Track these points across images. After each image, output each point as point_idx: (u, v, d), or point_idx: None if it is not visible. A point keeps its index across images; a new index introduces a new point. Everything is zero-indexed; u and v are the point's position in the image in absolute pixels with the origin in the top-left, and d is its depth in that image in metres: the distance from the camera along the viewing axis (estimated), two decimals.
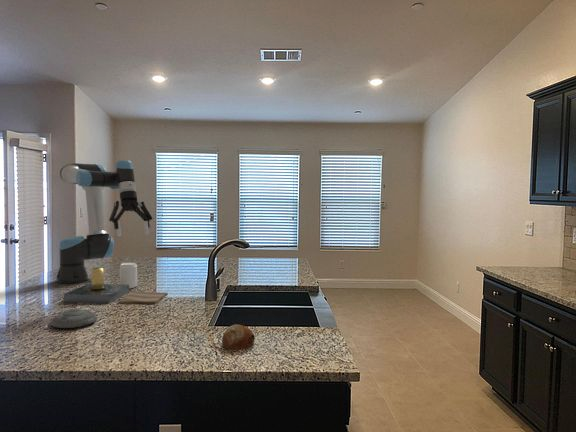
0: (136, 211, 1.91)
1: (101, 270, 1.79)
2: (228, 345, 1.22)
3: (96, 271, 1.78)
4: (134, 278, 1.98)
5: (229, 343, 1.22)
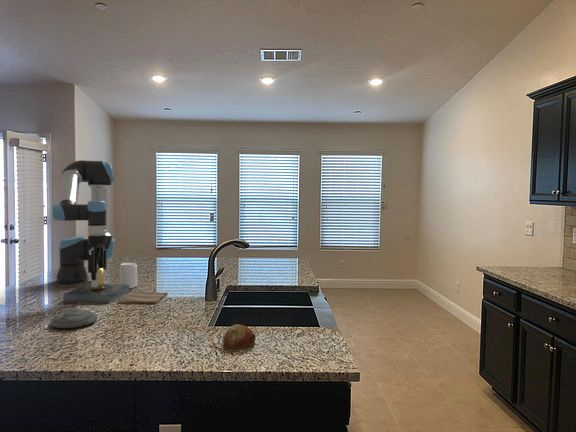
0: None
1: (101, 270, 1.79)
2: (229, 345, 1.22)
3: None
4: (134, 278, 1.98)
5: (230, 343, 1.22)
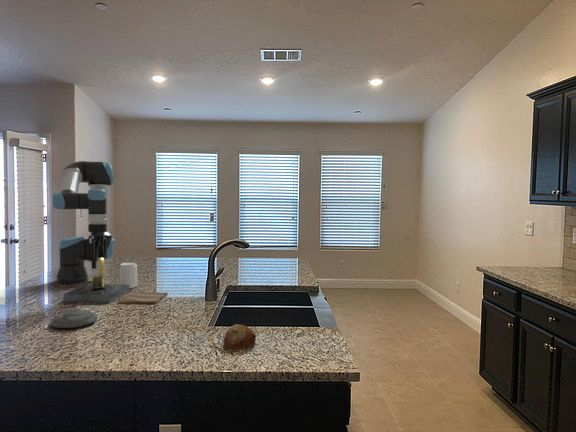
0: None
1: (101, 259, 1.79)
2: (229, 345, 1.22)
3: None
4: (134, 278, 1.98)
5: (231, 343, 1.22)
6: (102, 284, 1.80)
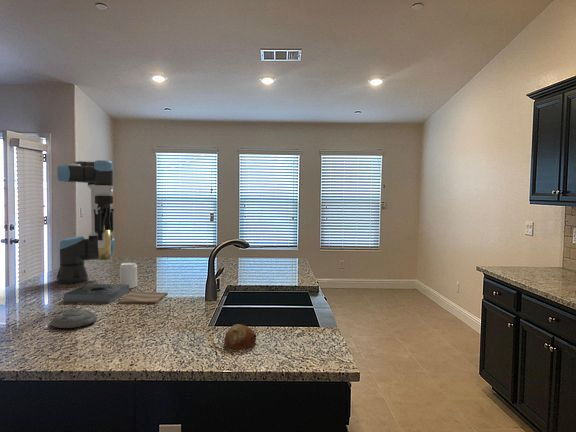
0: None
1: (108, 232, 1.78)
2: (230, 345, 1.22)
3: (103, 232, 1.76)
4: (134, 278, 1.98)
5: (231, 343, 1.22)
6: (108, 257, 1.78)
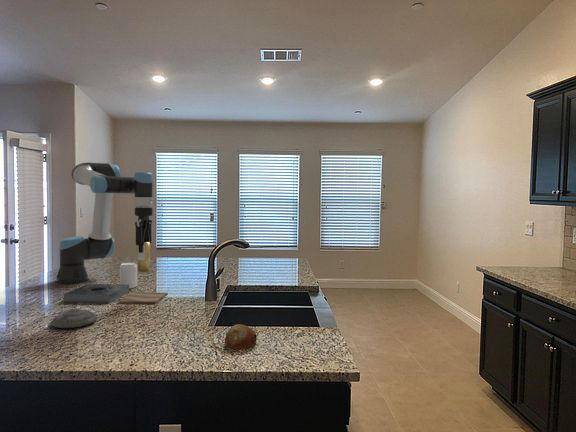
0: None
1: (148, 244, 1.76)
2: (231, 345, 1.22)
3: None
4: (134, 278, 1.98)
5: (232, 343, 1.22)
6: (148, 269, 1.77)
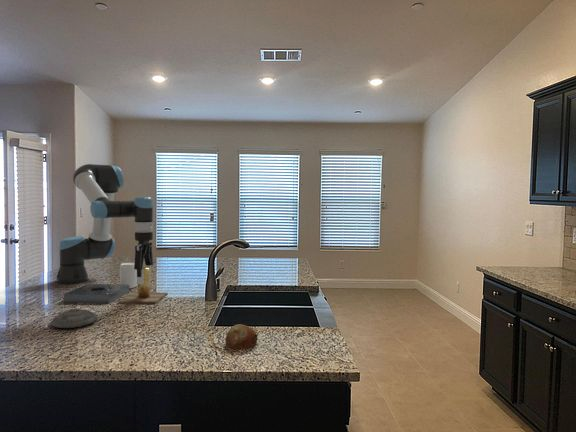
0: None
1: (147, 269, 1.77)
2: (231, 345, 1.22)
3: (143, 271, 1.75)
4: (134, 278, 1.98)
5: (233, 343, 1.22)
6: (148, 295, 1.78)
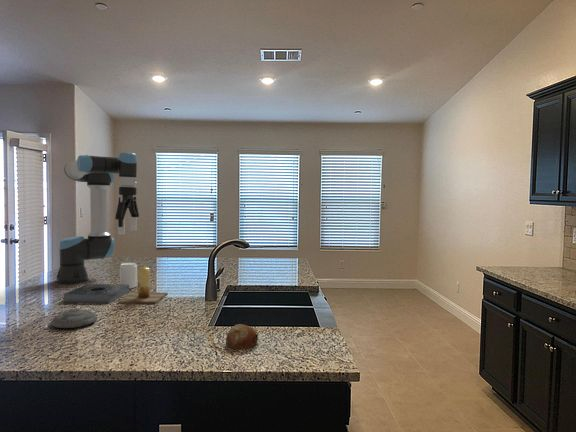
0: (129, 206, 1.86)
1: (148, 269, 1.77)
2: (232, 345, 1.22)
3: (143, 270, 1.75)
4: (134, 278, 1.98)
5: (233, 343, 1.22)
6: (148, 295, 1.78)
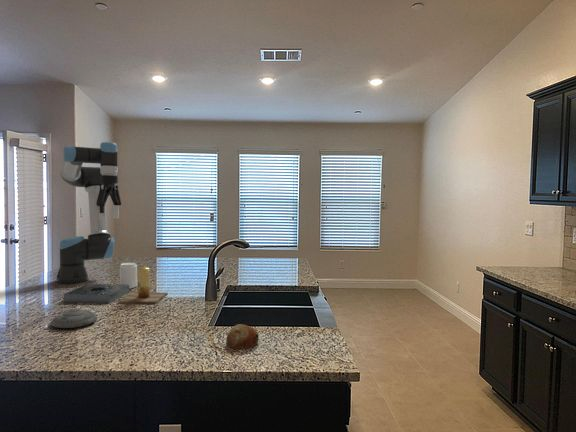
0: (111, 195, 1.94)
1: (148, 269, 1.77)
2: (232, 345, 1.22)
3: (143, 270, 1.75)
4: (134, 278, 1.98)
5: (234, 343, 1.22)
6: (148, 295, 1.78)
